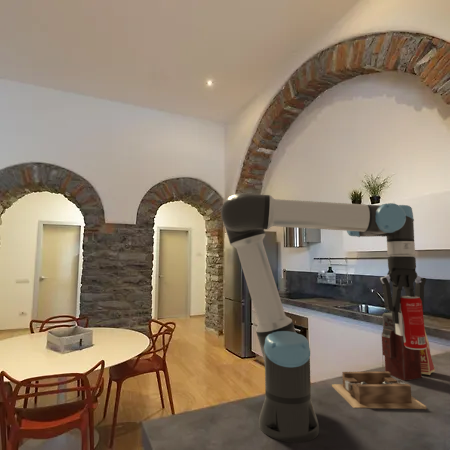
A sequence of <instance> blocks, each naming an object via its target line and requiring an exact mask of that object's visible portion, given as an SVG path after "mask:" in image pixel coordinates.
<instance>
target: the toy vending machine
mask: <svg viewBox="0 0 450 450" xmlns="http://www.w3.org/2000/svg"><path fill="white" fill-rule="evenodd" d="M399 313H401V309H400V308H399ZM381 347H382V349H381V350H382V356H384V371H388V372H390V373H391V377H394V378H396V379H398V380H401V381H403V382H405V381H411V380H412V381H413V380H416V379H417V380H418V379H422V374H421V361H420V350H413V349H409V348H406V347H405V346H404V338H403V336H400V335H397V334H396V329H395V323H393V321H392V312H384V313H383V314H382V332H381Z"/></svg>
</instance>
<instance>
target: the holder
mask: <svg viewBox="0 0 450 450" xmlns="http://www.w3.org/2000/svg"><path fill="white" fill-rule="evenodd" d="M345 381H349V382H350V383H361V382H366V383H367V384H352V388H351V391H348V390H347V389H346V387H345ZM384 381H386V382H388V383H392V384H382V382H384ZM331 386H332V388H333V389H334V390H335V391H336V393H338V394H339V395H340V397H342V398H343V399H344V401H346V402H347V403H348V404H349V405H350V406H351V407H352V408H353V409H396V410H397V409H400V410H401V409H409V410H410V409H412V410H413V409H415V410H417V409H418V410H427V409H428V408H427V405H425V404H424V403H422V402H421V401H419V400H418V399H416V398H415V397H414V396H412V386H411V385H410V384H408V383H405V384H401V383H398V380H396V379H395V377H394V378H393V376H391V373H390V372H388V371H385V370H384V371H383V370H382V371H381V370H380V371H374V370H373V371H342V383H341V384H340V383H339V384H338V383H336V384H331Z"/></svg>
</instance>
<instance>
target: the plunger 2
mask: <svg viewBox="0 0 450 450" xmlns="http://www.w3.org/2000/svg"><path fill="white" fill-rule="evenodd" d="M397 383H401V384H406V383H405V381H404V380H401V379H398V380H397ZM382 384H392V383H388V382H386V381H384V382H382Z"/></svg>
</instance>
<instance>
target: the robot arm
mask: <svg viewBox="0 0 450 450" xmlns="http://www.w3.org/2000/svg"><path fill="white" fill-rule="evenodd" d="M220 217H221V221H222V222H223V226H224V229H225V231H226V235H227V238H228V241H229V245H230V246H231V247H233V248H234V249H236V253H237V254H238V258H239V262H240V265H241V269H242V272H243V275H244V278H245V282H246V285H247V288H248V291H249V296H250V298H251V301H252V305H253V309H254V311H255V316H256V319H257V326H256V328H255V332H256V333H255V334H256V336H257V339H258V340H257V341H258V343H259V346H260V347H259V348H260V351H261V354H262V358H263V361H264V376H265V377H264V382H265V383H264V389H265V390H264V391H265V392H264V393H265V398H264V400H263V404H262V407H261V410H260V413H259V418H258V427H259V429H260V431H261V432H262V433H263V434H265V435H266V436H268V437H270V438H272V439H274V440H278V441H281V442H286V443H306V442H310V441H313V440H314V439H316V438H317V437H318V435H319V434H320V426H319V425H320V424H319V420H318V417H317V414H316V412H315V409H314V406H313V403H312V393H311V391H312V389H311V384H312V383H311V348H310V343H309V340H308V338H307V337H305V336H304V335H303V334H300V333H298V332H296V328H295V325H294V323H293V319H292V318H290V317H288V316H287V315H286V313H285V309H284V306H283V303H282V301H281V300H282V299H281V296H280V293H279V290H278V286H277V284H276V281H275V277H274V275H273V271H272V268H271V265H270V261H269V259H268V254H267V252H266V247H265V245H264V242H263V241H264V239H265V237H266V232H265V230H270V229H271V228H272V227H277V228H278V227H280V228H282V227H283V228H294V229H295V228H297V229H311V230H312V229H313V230H315V229H316V230H330V231H346V232H347V235H348V236H350V237H358V238H360V237H362V238H363V237H371V238H372V237H383V238H384V237H386V247H387V249H386V251H387V254H386V255H388V257H387V268H388V272H387V274H386V275H385V276H380V277H379V278H378V280H379V282H380V284H381V287H382V296H383V303H384V308H385V310H387V311H390V313H392V321H393V323H395V329H396V334H397V335H400V336H403V324H402V313H399V308H400V298H401V296H402V290H403V289H404V290H405V296H410V297H412V296H413V297H415V296H419V297H420V299H421V301H422V309H423V310H424V303H425V285H426V283H427V278H426V277H422V276H420V275H418V273H417V271H416V268H417V262H416V261H417V260H416V257H415V256H414V255H415V254H416V251H415V250H416V247H415V245H416V244H415V228H414V222H415V219H414V213H413V208H412V207H411V206H410V205H405V204H396V203H393V202H390V203H389V202H388V203H384V204H364V203H363V204H361V203H360V204H359V203H346V202H345V203H344V202H329V201H328V202H327V201H326V202H325V201H313V200H311V201H310V200H297V199H295V200H294V199H279V198H274V197H273V196H272V195H271V194H259V193H250V192H249V193H246V192H238V193H235V194H231V195H230V196H229V197H227V198H226V200H225V201H224V202H223V203H222V206H221V210H220ZM390 282H391V283H392V287H391V285H390ZM414 283H415V287H414ZM391 288H392V291H391Z"/></svg>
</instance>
